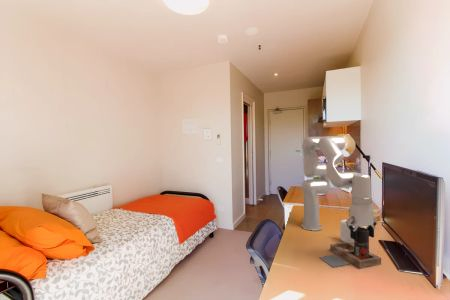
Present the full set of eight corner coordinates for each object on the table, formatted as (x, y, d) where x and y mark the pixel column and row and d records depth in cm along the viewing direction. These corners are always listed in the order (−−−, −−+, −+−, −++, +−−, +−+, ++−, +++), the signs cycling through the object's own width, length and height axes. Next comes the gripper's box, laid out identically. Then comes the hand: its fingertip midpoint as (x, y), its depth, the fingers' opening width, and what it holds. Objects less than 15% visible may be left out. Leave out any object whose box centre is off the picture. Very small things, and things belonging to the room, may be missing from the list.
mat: (319, 257, 107) (319, 257, 107) (335, 255, 109) (335, 254, 109) (333, 267, 98) (333, 266, 98) (349, 264, 100) (349, 263, 100)
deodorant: (370, 261, 103) (370, 229, 103) (367, 266, 99) (367, 233, 99) (356, 256, 107) (356, 226, 107) (352, 261, 103) (352, 229, 103)
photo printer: (339, 239, 126) (339, 218, 126) (345, 238, 127) (345, 217, 127) (353, 247, 116) (353, 224, 116) (360, 246, 117) (360, 223, 117)
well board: (330, 250, 114) (330, 244, 114) (349, 246, 118) (349, 241, 117) (359, 268, 97) (359, 262, 97) (381, 264, 100) (381, 257, 100)
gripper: (369, 197, 108) (369, 232, 108) (339, 200, 104) (340, 237, 104) (383, 201, 101) (384, 238, 101) (352, 204, 96) (353, 243, 97)
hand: (362, 237), depth 102 cm, fingers open, 9 cm apart
